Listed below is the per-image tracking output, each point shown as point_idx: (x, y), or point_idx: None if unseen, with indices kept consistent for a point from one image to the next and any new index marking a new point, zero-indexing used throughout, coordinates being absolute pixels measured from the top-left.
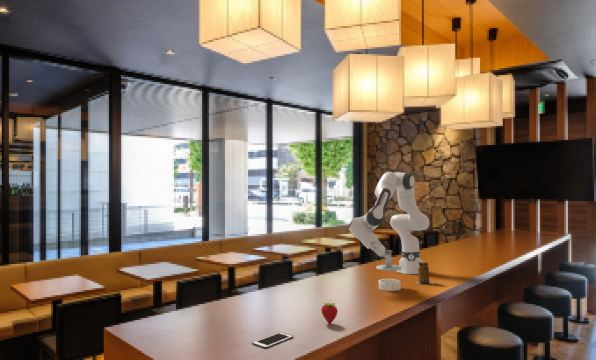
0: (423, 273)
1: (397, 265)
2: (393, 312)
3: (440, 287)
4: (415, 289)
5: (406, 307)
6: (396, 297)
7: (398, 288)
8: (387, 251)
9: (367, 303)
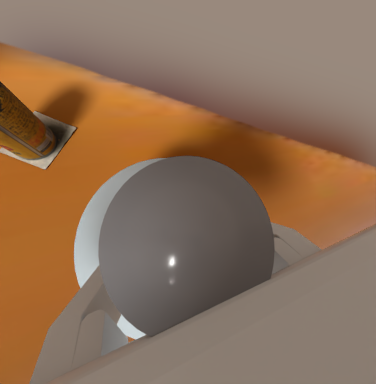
0: (26, 113)
1: (98, 194)
2: (356, 165)
3: (100, 97)
4: (151, 155)
5: (317, 149)
6: (260, 185)
7: None
8: (268, 224)
9: (344, 235)
